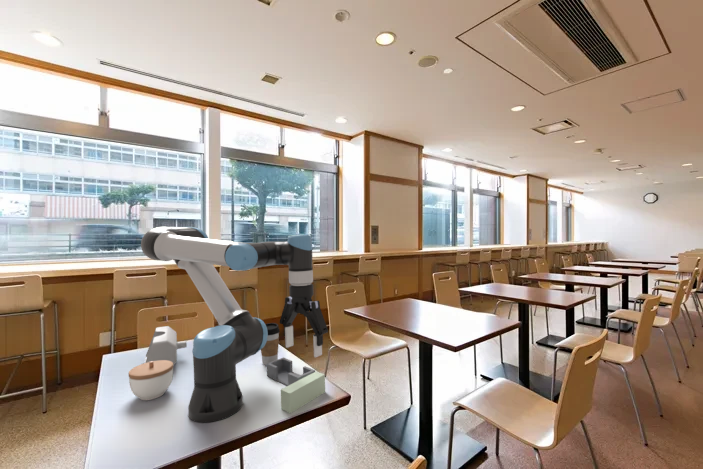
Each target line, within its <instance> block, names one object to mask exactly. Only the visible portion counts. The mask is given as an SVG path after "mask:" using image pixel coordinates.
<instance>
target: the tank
mask: <svg viewBox="0 0 703 469" xmlns="http://www.w3.org/2000/svg"><path fill="white" fill-rule="evenodd" d="M187 344H188V342H187V340H184V341H178V338H177V331H176V330H175V329H173V328H172V327H171V326H169V325H167V326H166V325H165V326H158V327H155V330H154V333H153V336H152V339H151V340H150V343H149V345H148V348H147V352H146V354H145V357H147V359H146V358H145V357H144V360H145V359H146V361H145V363H147V362H150V361H158V360H168V361H171V362H173V366H174V365H175V364H177V362H178V361H177V360H178V358H177V357H178V356H177V355H178V350H180V349H185V348H188V347H187Z"/></svg>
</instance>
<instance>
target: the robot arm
mask: <svg viewBox="0 0 703 469" xmlns="http://www.w3.org/2000/svg"><path fill="white" fill-rule="evenodd" d="M312 239H313V238H312V236H311V235H309V234H293V235H288V236H287V240H285V241H268V240H267V241H259V242H241V241H231V240H221V239H214V238H213V239H212V238H209V236H208V235H207V233H206V232H205V231H204V230H202V229H201V228H198V227H193V226H158V227H154V228H152V229H149V230H148V231H147V232H145V233H144V235H143V236H142V238H141V240H140V241H141V242H140V249H141V251H142V253H143V254H144V255H145V257H147V258H149V259H151V260H153V261H162V262H163V261H164V262H170V261H172V260H173V261H174V262H175V264H176V266H177V268H178V269H181V270H185V271H186V273H187V275H188V277H189V278H190V280H191V281H192V282H193V285H194V286H195V288H196V289H197V291H198V292H199V294H200V296H201V298H202V299H203V300H204V302H205V304H206V306H207V307H208V309H209V310H210V312H211V313H212V315H213V317H214V319H215V320H216V321H217V323H218V325H216V326H213V327H212V326H211V327H208V328H205V329H203V330H201V331H200V332H198V333H197V334H196V335H195V337H194V339H193V340H192V342H193V343H192V344H193V347H192V361H193V385H194V386H193V390H192V394H191V396H190V397H191V398H190V400H189V403H188V407H187V408H188V414H187V416H188V417H189V419H190V420H192V421H194V422H197V423H211V422H212V423H213V422H216V421H217V422H218V421H221V420H224V419H227V418H229V417H231V416H232V415H235V413H237V412H239V410H241V408H242V407H243V405H244V404H243V403H244V399H243V398H244V396H243V392H242V390H241V388H240V385H239V383H238V380H237V368H236V367H237V365H238V364H240V363H241V362H243V361H244V360H247V358H249V357H251V356H254V355H256V354H257V353H258V352H259V351H260V352H261V349H262V348H263V347H264V346H265V344H266V342H267V336H268V331H267V327H266V325H265V324H266V323H265V322H264V320H262V319H261V318H258V317H253V316H252V314H251V313H250V311H249V310H245V309H242V308H241V306H240V304H239V302H237V300H236V299H235V297H234V295H233V294H232V292H231V290H230V289H229V288H228V286H227V284H226V282H225V281H224V279H223V278H222V277H221V275H220V273H219V271H218V270H217V269H216V267H215V266H221V267H229V268H230V269H231V270H233V271H235V272H236V271H241V272H243V271H248V270H253V269H257V268H262V267H269V266H270V267H271V266H276V265H277V266H279V265H280V266H281V265H283V266H284V265H285V266H286V265H287V266H288V283H289V284H290V285H289V288H288V289H289V291H288V292H289V296H286V297H285V298H284V306H283V309H282V312H281V315H280V320H279V324H281V325H282V326H283V327H284V337H285V338H284V340H285V348H287V349H288V348H290V347H293V346H294V325H293V322H294V320H295V318H296V317H297V315H298V314H300V315H303V316H304V317H305V318H306V319H307V321H308V323H309V324H310V327H311V329H312V331H313V332H314V334H313V335H312V336H313V340H312V342H313V358H318V357H320V356H322V355H323V345H324V341H323V340H324V334H326V333H328V332H329V330H328V327H327V323H326V321H325V317H324V315H323V312H322V310H321V305H320V301H319V300H315V301H313V299H312V297H313V296H314V291H315V290H314V284H313V282H314V269H313V250H314V248H313V240H312ZM214 265H215V266H214Z"/></svg>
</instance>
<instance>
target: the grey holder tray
mask: <svg viewBox="0 0 703 469" xmlns="http://www.w3.org/2000/svg"><path fill="white" fill-rule="evenodd" d="M293 368H294V367H293V361H292V360H291V359H288V358H286V357H281V358H278V360H275V361H273V362H270V363H267V365H266V377H268V378H270V379H272V380H275V381H276V382H279V383H281V384H283V385H284V386H285V387H287V386H289V385H291V384H293V383H295V382H296V381H298V380H300V379H302V378H304V377H306V376H308V375H310V374H312V373H314V372H316V370H315V369H313V368H310V367H308V366H306V365H305V366H302V374H299V373H296V372H295V371H293Z"/></svg>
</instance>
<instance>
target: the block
mask: <svg viewBox="0 0 703 469" xmlns="http://www.w3.org/2000/svg"><path fill="white" fill-rule="evenodd" d="M325 376H326V374H324V373H322V372H319V371H315V372H314V373H312V374H310V375H308V376H306V377H304V378H302V379H300V380H298V381H296V382H295V383H293V384H291V385H289V386H285V387H283V388H280V407H281V408H280V409H281V410H282V411H284V412H287V413H288V414H292V413H293V412H295V411H297V410H299V409H300V408H302V407H303V406H305V405H306V403H307V404H308V403H310V402H312V401H313V400H316V399H317V398H318V397H320V396H321V394H322V395H323V394H325V393H326V377H325ZM316 397H317V398H316ZM311 400H312V401H311Z"/></svg>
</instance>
